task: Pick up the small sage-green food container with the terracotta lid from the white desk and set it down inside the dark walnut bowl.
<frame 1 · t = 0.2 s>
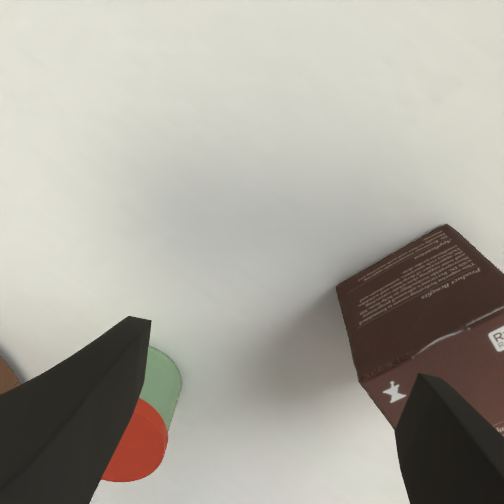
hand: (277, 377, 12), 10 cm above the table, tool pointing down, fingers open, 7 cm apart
box: (416, 298, 22), on the table
container: (140, 379, 25), on the table
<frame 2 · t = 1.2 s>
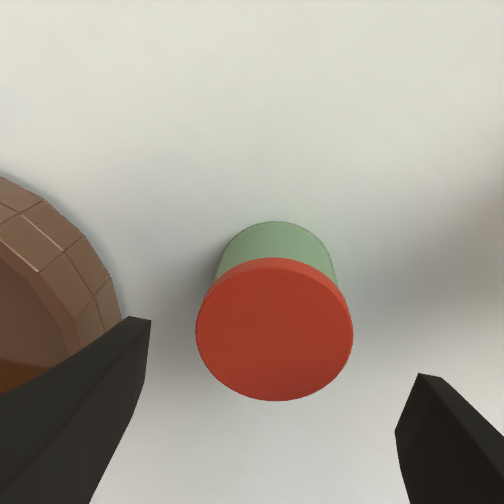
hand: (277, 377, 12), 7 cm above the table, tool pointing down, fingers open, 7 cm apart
container: (275, 275, 18), on the table
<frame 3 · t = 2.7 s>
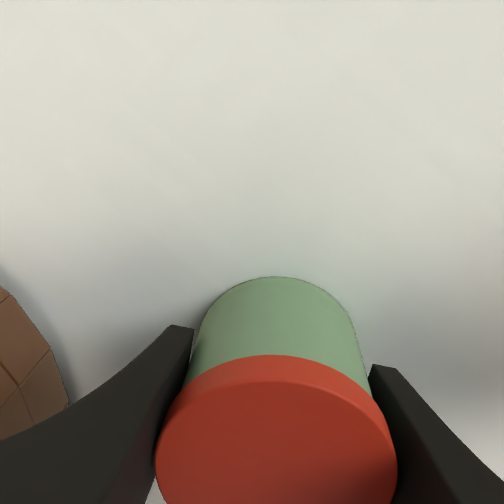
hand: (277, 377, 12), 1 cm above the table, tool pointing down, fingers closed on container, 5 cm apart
container: (276, 346, 13), on the table, touching gripper
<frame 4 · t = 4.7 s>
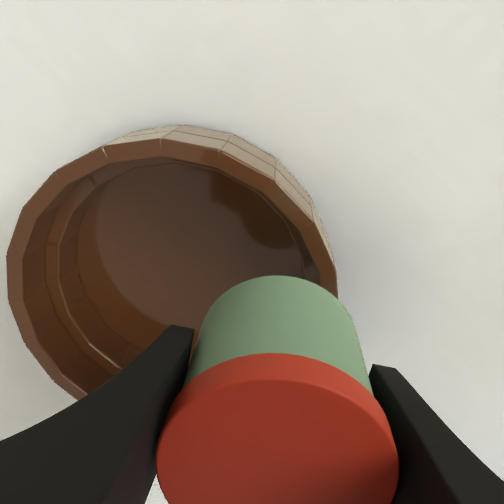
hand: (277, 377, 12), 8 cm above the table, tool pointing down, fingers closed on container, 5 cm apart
bowl: (190, 264, 20), on the table
container: (277, 345, 13), point 7 cm above the table, touching gripper
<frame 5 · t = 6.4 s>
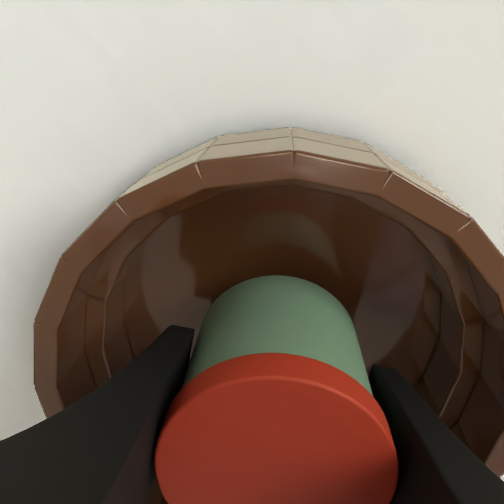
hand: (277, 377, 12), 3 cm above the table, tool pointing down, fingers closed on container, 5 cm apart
bowl: (278, 318, 15), on the table
container: (276, 345, 13), point 2 cm above the table, touching gripper
when the fingers open (2 cm above the table, at t = 7.2 s): container stays where it is, resting on bowl.
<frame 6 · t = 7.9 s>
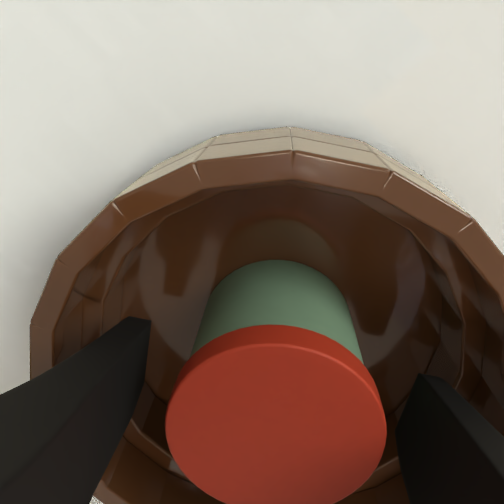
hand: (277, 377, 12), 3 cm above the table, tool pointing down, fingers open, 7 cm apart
bowl: (277, 319, 15), on the table
container: (276, 325, 14), resting on bowl
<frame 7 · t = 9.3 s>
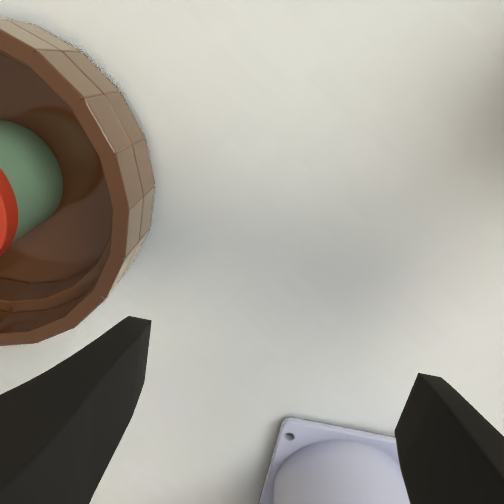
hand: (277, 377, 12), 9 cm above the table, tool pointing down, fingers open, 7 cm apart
bowl: (18, 174, 20), on the table
container: (10, 175, 19), resting on bowl
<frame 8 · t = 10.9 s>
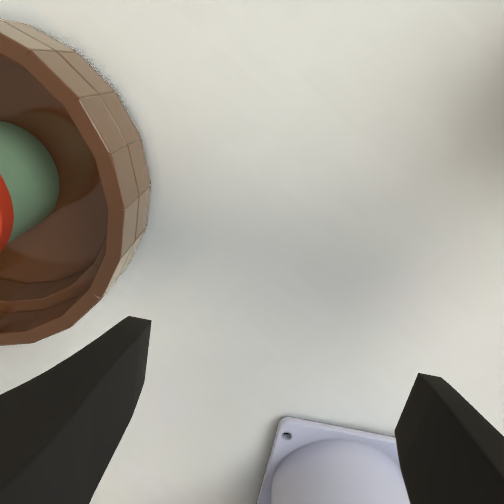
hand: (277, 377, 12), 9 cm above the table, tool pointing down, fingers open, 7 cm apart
bowl: (14, 175, 20), on the table
container: (6, 176, 19), resting on bowl
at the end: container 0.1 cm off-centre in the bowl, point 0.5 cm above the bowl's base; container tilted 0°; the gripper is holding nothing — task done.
